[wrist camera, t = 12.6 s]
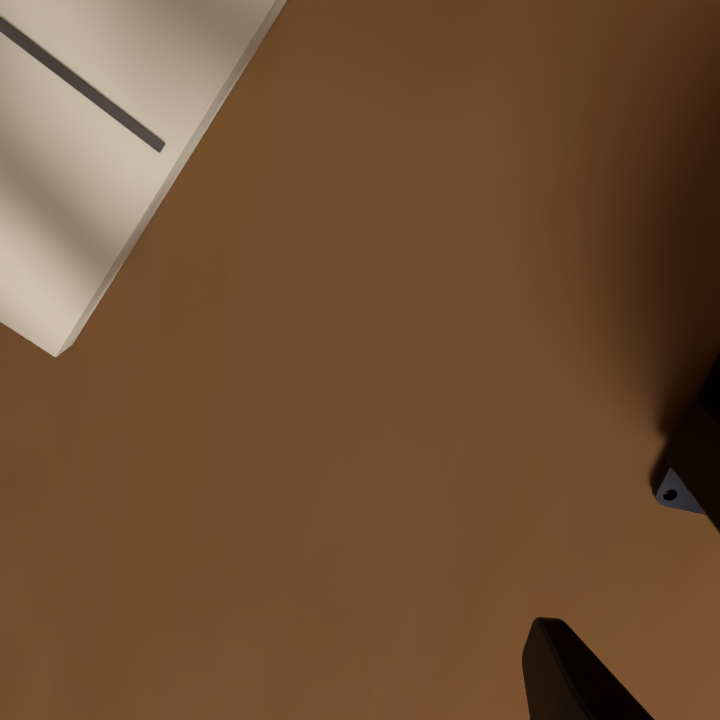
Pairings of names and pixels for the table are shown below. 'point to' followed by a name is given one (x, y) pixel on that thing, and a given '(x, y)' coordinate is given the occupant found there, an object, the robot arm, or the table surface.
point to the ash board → (101, 137)
